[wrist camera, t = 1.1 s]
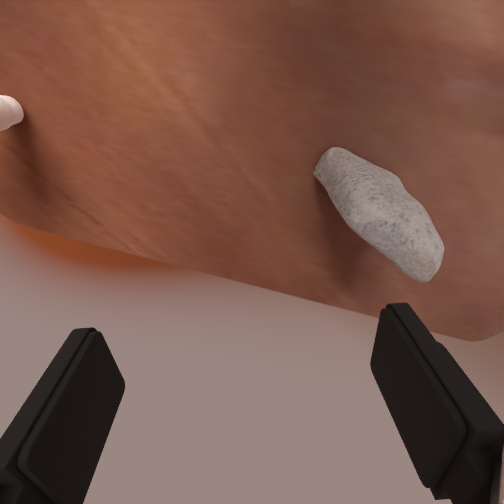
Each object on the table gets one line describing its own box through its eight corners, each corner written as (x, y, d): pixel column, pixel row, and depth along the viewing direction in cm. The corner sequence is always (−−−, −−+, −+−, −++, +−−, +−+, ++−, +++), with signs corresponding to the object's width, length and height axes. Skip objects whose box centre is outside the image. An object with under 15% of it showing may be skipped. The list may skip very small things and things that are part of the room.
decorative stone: (302, 179, 34) (339, 240, 21) (335, 132, 31) (400, 169, 19) (370, 222, 37) (439, 298, 24) (405, 182, 35) (502, 244, 22)
